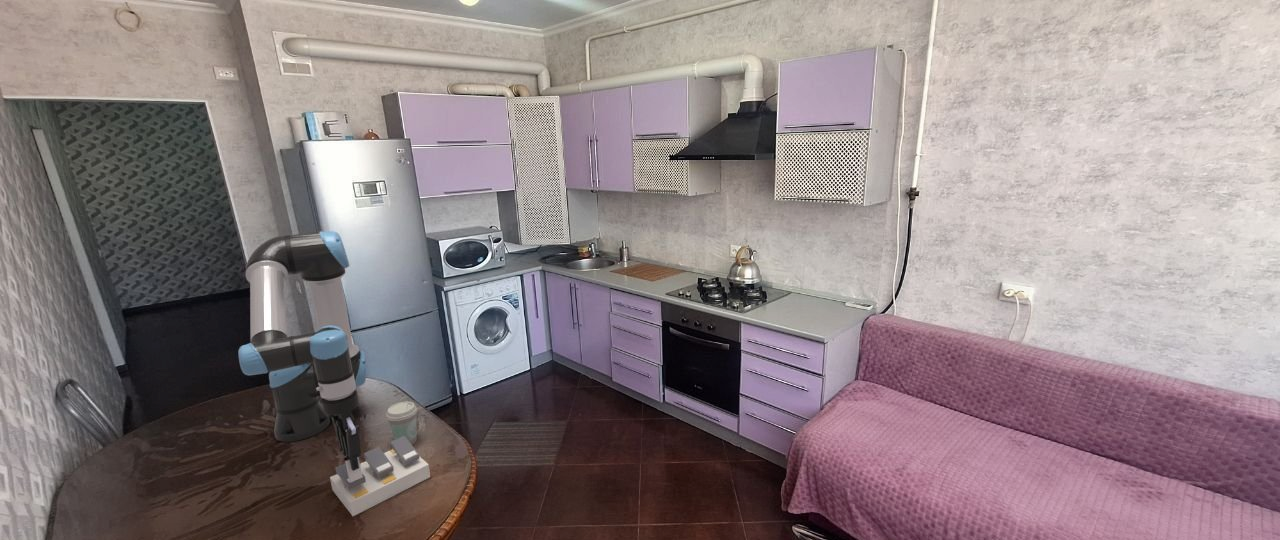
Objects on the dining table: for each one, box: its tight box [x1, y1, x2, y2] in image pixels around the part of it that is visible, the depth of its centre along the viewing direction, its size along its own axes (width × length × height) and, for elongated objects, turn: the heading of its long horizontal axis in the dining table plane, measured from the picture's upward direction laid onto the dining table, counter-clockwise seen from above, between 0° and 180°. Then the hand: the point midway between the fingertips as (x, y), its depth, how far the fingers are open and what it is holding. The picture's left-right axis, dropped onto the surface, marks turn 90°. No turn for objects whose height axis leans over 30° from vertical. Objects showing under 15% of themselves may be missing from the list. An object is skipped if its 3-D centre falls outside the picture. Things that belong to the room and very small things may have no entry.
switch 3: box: [389, 436, 420, 466], centre depth 141 cm, size 9×4×2 cm, turn 48°
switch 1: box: [334, 462, 366, 490], centre depth 132 cm, size 9×4×2 cm, turn 48°
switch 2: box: [363, 446, 394, 478], centre depth 136 cm, size 9×4×2 cm, turn 48°
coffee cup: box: [386, 401, 418, 446], centre depth 156 cm, size 9×8×12 cm
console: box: [329, 448, 431, 517], centre depth 138 cm, size 15×20×6 cm
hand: (355, 478), depth 128 cm, fingers closed
